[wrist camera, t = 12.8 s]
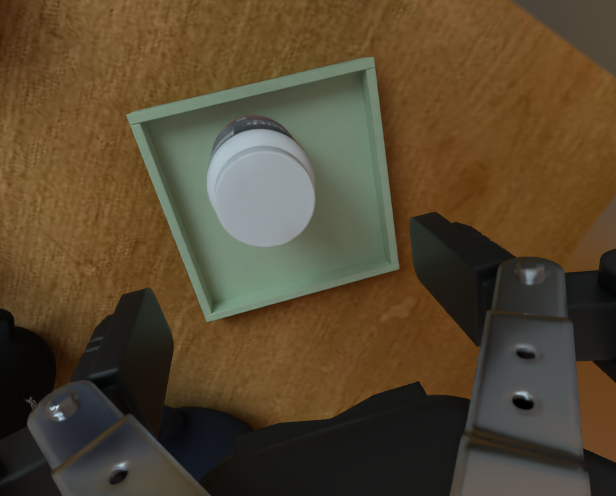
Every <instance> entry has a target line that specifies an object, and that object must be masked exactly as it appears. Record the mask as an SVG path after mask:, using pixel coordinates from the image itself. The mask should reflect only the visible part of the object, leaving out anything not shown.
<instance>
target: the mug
mask: <svg viewBox="0 0 616 496" xmlns="http://www.w3.org/2000/svg"><path fill="white" fill-rule="evenodd" d="M55 378H56V364H55V359H54V355H53V353H52V351H51V349H50V347H49V346H48V345H47V343H46V342H45V341H44V340H43V339H41V338H40V337H39V336H37V335H36V334H34V333H32V332H30V331H28V330H26V329H23V328H20V327H16V326H14V317H13V315H12V314H11V313H10V312H9V311H7V310H4V309H0V440H1V439H3V438H5V437H7V436H9V435H11V434H13V433H15V432H17V431H19V430H21V429H23V428H25V427H26V426H27V420H28V417H29V415H30V413H31V411H32V410H33V408H34V407H35V406H36V405H37V404H38V403H39V402H40V401H41V400H42V399H43V398H44V397H46V396H47V395H48V394H50V393H51V392H52V391H53V388H54V383H55Z"/></svg>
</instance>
